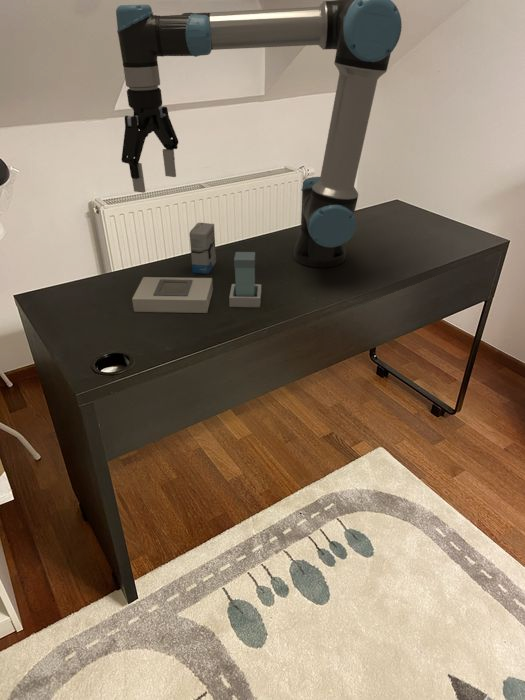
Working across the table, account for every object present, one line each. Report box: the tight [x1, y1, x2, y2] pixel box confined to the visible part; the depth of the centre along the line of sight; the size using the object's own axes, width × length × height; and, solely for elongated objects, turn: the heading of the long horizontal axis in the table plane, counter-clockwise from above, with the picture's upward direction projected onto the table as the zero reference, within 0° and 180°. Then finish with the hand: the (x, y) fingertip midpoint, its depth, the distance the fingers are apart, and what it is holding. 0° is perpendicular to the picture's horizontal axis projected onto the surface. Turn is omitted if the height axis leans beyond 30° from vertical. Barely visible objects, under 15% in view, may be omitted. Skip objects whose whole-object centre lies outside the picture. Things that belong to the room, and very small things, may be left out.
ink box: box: [189, 222, 217, 275], centre depth 146 cm, size 8×5×12 cm, turn 168°
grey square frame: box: [228, 283, 262, 308], centre depth 133 cm, size 8×8×2 cm
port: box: [131, 276, 214, 314], centre depth 132 cm, size 18×12×4 cm, turn 88°
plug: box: [233, 251, 256, 297], centre depth 130 cm, size 5×5×12 cm
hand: (156, 183), depth 128 cm, fingers open, 13 cm apart
